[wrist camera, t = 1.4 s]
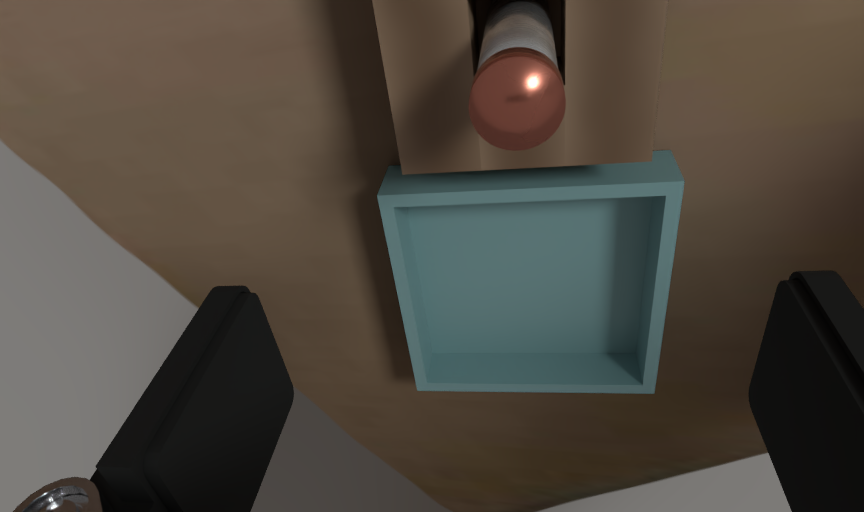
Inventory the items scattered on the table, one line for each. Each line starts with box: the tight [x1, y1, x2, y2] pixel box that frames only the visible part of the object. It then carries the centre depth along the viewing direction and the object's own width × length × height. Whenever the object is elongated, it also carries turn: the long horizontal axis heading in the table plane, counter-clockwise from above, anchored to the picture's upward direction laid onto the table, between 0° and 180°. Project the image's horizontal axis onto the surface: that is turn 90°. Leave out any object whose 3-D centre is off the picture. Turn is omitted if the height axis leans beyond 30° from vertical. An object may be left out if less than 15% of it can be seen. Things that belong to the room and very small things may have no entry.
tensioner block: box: [372, 0, 669, 175], centre depth 27 cm, size 12×12×5 cm
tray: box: [377, 150, 685, 394], centre depth 37 cm, size 16×16×4 cm
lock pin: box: [469, 0, 566, 151], centre depth 24 cm, size 3×3×11 cm
